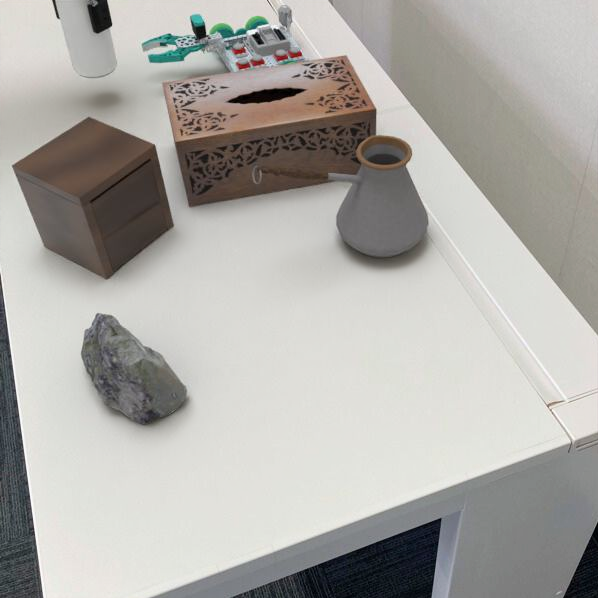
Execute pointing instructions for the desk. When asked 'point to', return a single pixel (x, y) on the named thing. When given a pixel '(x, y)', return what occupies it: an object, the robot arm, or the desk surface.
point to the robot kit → (234, 43)
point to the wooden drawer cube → (95, 195)
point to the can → (86, 40)
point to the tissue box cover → (267, 126)
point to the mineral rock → (129, 372)
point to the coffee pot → (374, 198)
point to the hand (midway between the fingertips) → (84, 21)
